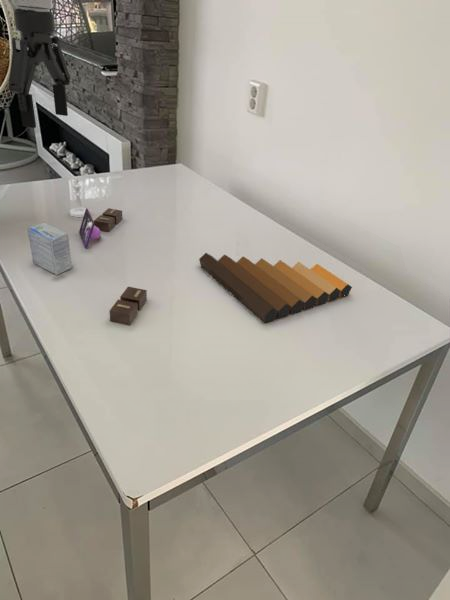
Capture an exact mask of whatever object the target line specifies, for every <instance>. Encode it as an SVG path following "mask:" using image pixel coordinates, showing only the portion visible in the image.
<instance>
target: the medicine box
mask: <svg viewBox="0 0 450 600" xmlns="http://www.w3.org/2000/svg"><path fill="white" fill-rule="evenodd" d="M27 234H28V240H29V247H30V253H31V256H32V263H33V264H35V265H36V266H38V267H40V268H42V269H44V270H46V271H48V272H50V273H52V274H54V275H56V276H58V275H60V274H62V273H64V272H66V271H68V270H71V269H72V268H73V264H72V256H71V248H70V240H69V234H68V233H67V232H65V231H63V230H61V229H60V228H56V227H54V226H52V225H50V224H48V223H46V222H43V223H42V222H41V223H39V224H36V225H33V226H31V227H28V228H27Z"/></svg>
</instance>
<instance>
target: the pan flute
mask: <svg viewBox="0 0 450 600" xmlns="http://www.w3.org/2000/svg"><path fill="white" fill-rule="evenodd" d="M198 261H199V264H200V267H201V268H202V269H204V270H205V271H206V273H208V274H209V275H210V276H211V277H212V278H213V279H215V281H217V282H218V283H219V284H220V285H221V286H222V287H223V288H225V289H226V290H227V292H229V293H230V294H232V295H233V297H235V298H236V299H237V300H238V301H239V302H240V303H242V304H243V305H244V306H245V307H246V308H247V309H248V310H249V311H250V312H252V313H253V314H254V315H255V317H257V318H259V319H260V321H262V322H263V323H264V324H269V323H272V322H274V321H275V320H276V318H277V319H279V320H280V319H284V318H287V317H288V315H289V314H291V315H295V314H298V313H301V312H302V309H303V310H304V311H306V310H309V309H313V308H314V306H315V305H316V306H317V307H318V306H322V305H324V304H326V302H329V303H330V302H333V301H336V300H337V299H338V298H340V299H342V298H346V297H348V296H349V294H350V292H351V290H352V288H353V286H351V285H350V284H348V283H347V282H346V281H344V280H342V279H341V278H339V277H338V276H337V275H336V274H334V273H332V272H331V271H330V270H328V269H327V268H325V267H323V266H321V265H320V264H319V263H316V264H314V265H313V266H312V268H311V269H310V268H309V267H307V266H305V265H304V264H303V263H301V262H300V261H297V262H296V263H295V264H294V265H293V266H290V265H288V264H287V263H285V262H284V261H283V260H281V259H279V260H278V261H277V262H275V264H274V265H273V264H271V263H270V262H268V261H267V260H265V259H264V258H262V257H261V258H260V259H259V260H257V262H255V263H254V262H252V261H251V260H250V259H248V258H247V257H245V256H241V257H240V259H238V260H237V261H235V260H234V259H232V258H231V257H230V256H228V255H226V254H223V255H222V256H221V257H220V258H219V259H217V258H215V257H214V256H212V255H211V254H209V253H208V252H205V253H203V255H201V257H199V259H198ZM347 294H348V295H347ZM344 295H345V296H344Z"/></svg>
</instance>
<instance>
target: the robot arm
mask: <svg viewBox="0 0 450 600" xmlns="http://www.w3.org/2000/svg"><path fill="white" fill-rule="evenodd" d="M11 4H12V5H13V6H15V8H14V10H13V11H12V12H13V17H14V24H15V29H16V30H17V31H18V32H20V33H21V38H20V37H12V39H11V45H12V46H11V47H12V54H11V61H10V62H11V63H10V72H9V79H8V90H9V92H11V93H12V94H16V96H17V101H18V109H19V111H20V117H21V125H22V127H25V128H31V129H36V128H37V123H36V116H35V108H34V107H35V106H34V100H33V94H32V93H30V91H31V87H32V83H33V80H34V76H35V73H36V68H37V67H38V66H39V65H40V64H41V63H43V64H44V66H45V69H46V70H47V71H48V73H49V75H50V77H51V78H52V80H53V82H54V83H53V84H52V92H53V101H54V111H55V115H58V116H63V117H68V116H69V112H68V103H67V93H66V92H67V91H66V86H70V83H71V82H70V81H71V76H70V72H69V69H68V67H67V66H68V65H67V62H66V60H65V57H64V54H63V51H62V48H61V42H60V37H59V36H58V35H57V36H56V35H51V34H55V32H56V25H55V24H56V23H55V14H54V13H53V12H51V10H52V9H53V8H54V7H53V0H11Z"/></svg>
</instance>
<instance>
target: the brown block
mask: <svg viewBox="0 0 450 600" xmlns="http://www.w3.org/2000/svg"><path fill="white" fill-rule="evenodd" d="M122 220H123V210H121V209H115V208H107V209H106V210H104V211H103V212H102V213H101V214H99V216H97V217H96V218H95V219H93V221H94V223H95V224H94V226H96V227H97V228H99V230H100V231H101V232H105V233H110V232H111V231H112V230H113V229H114V228H115V227H116V225H118V224H119V223H120V222H121V221H122Z"/></svg>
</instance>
